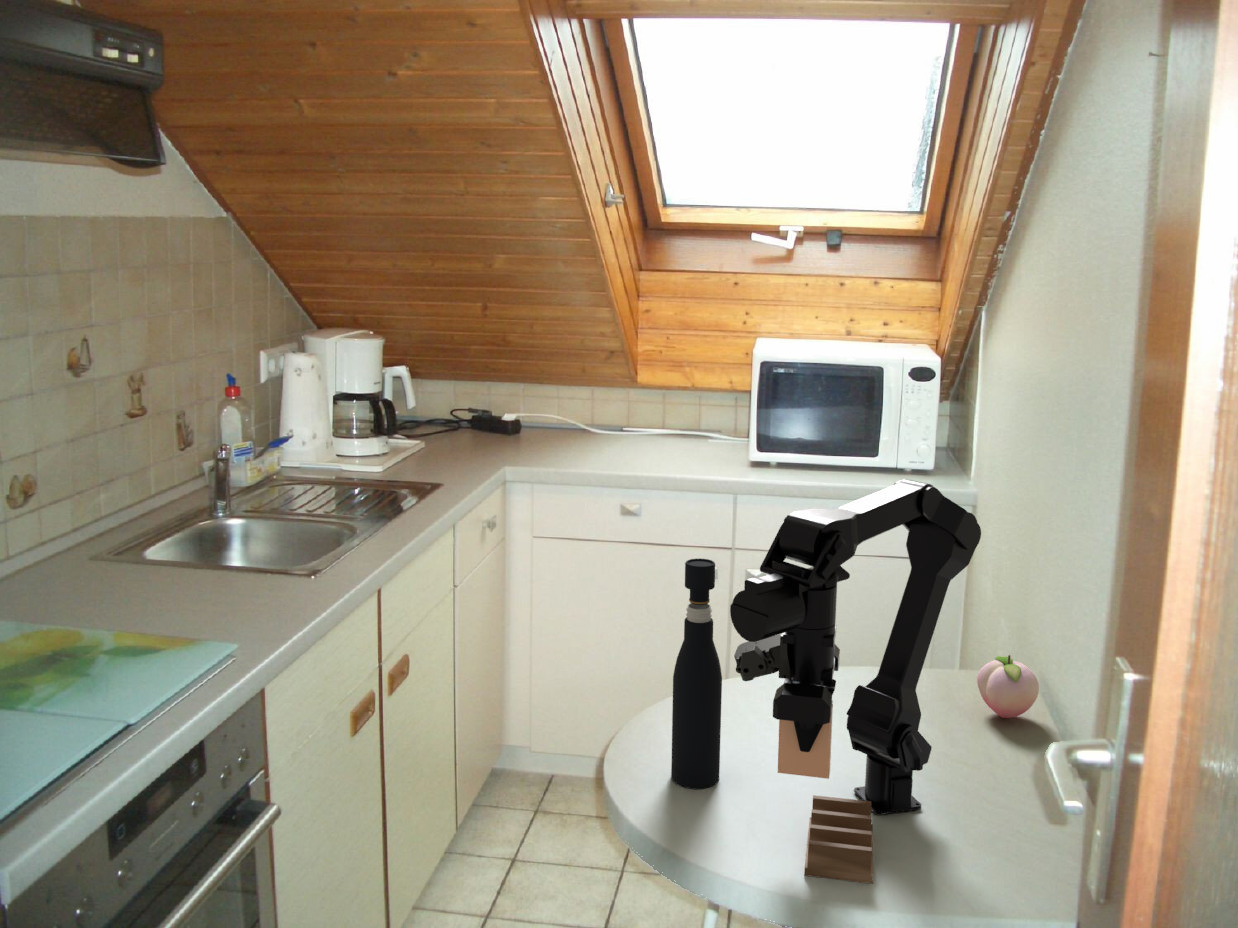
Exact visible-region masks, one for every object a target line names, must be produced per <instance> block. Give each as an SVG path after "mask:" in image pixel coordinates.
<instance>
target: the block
mask: <svg viewBox="0 0 1238 928" xmlns="http://www.w3.org/2000/svg"><path fill="white" fill-rule="evenodd" d="M833 707H834V703H832V709H831V717H830V723H827V724H823V726H822V728H821V730H820V732H819V734H818V736H817V738H816V740H815V742H814V744H813V746H812V748H811V750H810V752H802V751H800V748H799V743H798V739H797V735H796V730H795V726H794V721H788V720H778V721H779V722H778V745H777V746H778V748H777V750H778V752H777V773H778V774H783V775H785V774H786V775H793V776H803V777H810V778H818V779H819V778H820V779H830V775H831V759H832V739H833V737H832V734H833V733H832V732H833Z"/></svg>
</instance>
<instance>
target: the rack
mask: <svg viewBox="0 0 1238 928" xmlns="http://www.w3.org/2000/svg"><path fill="white" fill-rule="evenodd" d="M811 808H812V809H811V813H810V817H809V819H808V820H809V821H808V831H807V841H806V852H805V859H804V860H805V863H804V872H803V873H804V875H803V876H806V877H816V878H821V879H822V878H823V879H831V880H838V881H839V880H840V881H845V882H846V881H847V882H855V883H864V884H874V836H873V835H874V828H873V827H874V825H873V824H872V820H873V819H872V810H871V801H863V800H861V799H853V798H852V799H851V798H843V797H834V796H824V795H816V794H815V795H814V794H813V795H812V807H811Z"/></svg>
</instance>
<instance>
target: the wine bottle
mask: <svg viewBox="0 0 1238 928" xmlns="http://www.w3.org/2000/svg"><path fill="white" fill-rule="evenodd" d="M715 582H716V563H715V561H714V560H711V559H708V558H691V559H688V560H686V561H685V562H684V587H685V588H686V589H687V590H689V599H688V602H690V603H688V604H687V607H686V614H685V615H686V617H685V618H684V622H683V623H684V627H683V633H684V634H683V641H682V644H681V646H680V649H679V652H678V654H677V657H676V661H675V665H674V670H673V676H672V711H671V712H672V713H671V716H672V718H671V721H672V723H671V726H672V727H671V770H670V771H671V773H670V774H671V775H670V777H671V779H672V782H674V784H676V785H677V786H680V787H683V788H686V789H694V790H701V789H702V790H703V789H708V788H711V787H713V786H715V785H716V784H717V783H719V780H720V768H721V767H720V763H721V761H720V760H721V732H722V731H721V730H722V729H721V728H722V727H721V725H722V693H723V691H722V690H723V675H722V667H721V663H720V658H719V654H718V652H717V648H716V644H715V641H714V619H713V618H712V616H713V614H712V611H713V609H712V606H711V604H710V590H714V588H715Z"/></svg>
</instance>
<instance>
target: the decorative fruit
mask: <svg viewBox="0 0 1238 928" xmlns="http://www.w3.org/2000/svg"><path fill="white" fill-rule="evenodd" d="M976 684H977V688H978V690H979V693H980V696H981V698H982V700H983V702H984V703H985V704H986V705H987V707H989V709H991V711H993V712H994V713H995V714H996V715H998V716H999V717H1000V718H1003V719H1010V718H1014V717H1019V716H1021V715H1023V714H1025V713H1026V712H1027V711H1029V709H1031V707H1032V706H1033V705H1035V702H1036V700H1037V699H1038V695H1039V692H1040V691H1039V690H1040V686H1039V681H1038V679H1037V677H1036V675H1035V673H1034V672H1033V671H1032V670H1031V669H1030V668H1029V667H1028V666H1027V665H1025V664H1023V663H1022V662H1019V661H1018V660H1017V661H1016V660H1014V659H1012V658H1011V654H1008V655H1007V656H1005V655H1003V656H1001V655H997V656H995V657H994V660H991V661H989V662H988V663H986V664H984V665H983V666H982V668H981V669H980V670H979V672H978V673H977V676H976Z"/></svg>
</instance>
